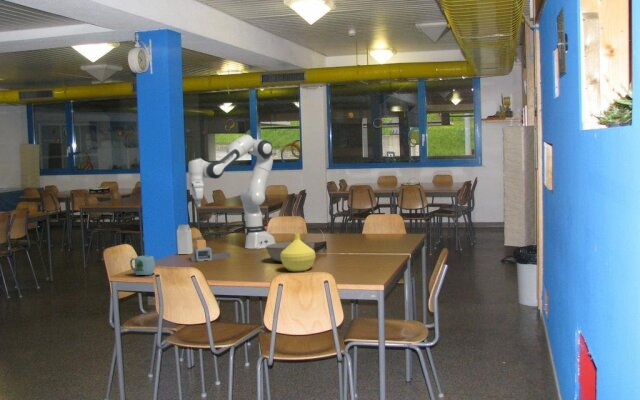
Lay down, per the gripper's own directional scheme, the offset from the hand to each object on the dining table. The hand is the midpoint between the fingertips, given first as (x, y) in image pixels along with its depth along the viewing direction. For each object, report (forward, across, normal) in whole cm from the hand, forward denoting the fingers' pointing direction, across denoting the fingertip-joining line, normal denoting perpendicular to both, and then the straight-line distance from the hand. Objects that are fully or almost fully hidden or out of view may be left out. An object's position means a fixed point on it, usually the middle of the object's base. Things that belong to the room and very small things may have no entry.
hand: (198, 206), depth 418 cm
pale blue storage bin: (+31, +18, -1) cm, 36 cm away
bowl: (+32, +54, +43) cm, 76 cm away
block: (+24, +18, -2) cm, 30 cm away
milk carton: (+31, -14, -8) cm, 35 cm away
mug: (+32, +50, -39) cm, 71 cm away
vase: (+31, +86, +38) cm, 99 cm away
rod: (+32, +18, +3) cm, 37 cm away
